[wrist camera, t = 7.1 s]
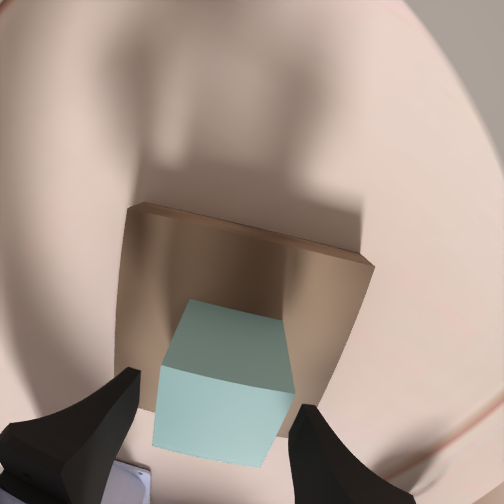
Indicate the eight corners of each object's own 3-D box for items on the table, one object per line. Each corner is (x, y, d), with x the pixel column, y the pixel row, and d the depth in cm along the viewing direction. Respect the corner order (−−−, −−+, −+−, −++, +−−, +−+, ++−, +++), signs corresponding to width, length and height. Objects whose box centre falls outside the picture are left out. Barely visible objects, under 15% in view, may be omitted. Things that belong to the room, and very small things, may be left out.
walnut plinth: (125, 379, 21) (114, 400, 18) (143, 202, 18) (127, 208, 15) (296, 415, 22) (300, 438, 19) (360, 253, 18) (375, 266, 16)
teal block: (176, 372, 18) (152, 445, 12) (189, 298, 16) (161, 365, 11) (258, 390, 18) (260, 467, 12) (282, 320, 17) (295, 394, 11)
